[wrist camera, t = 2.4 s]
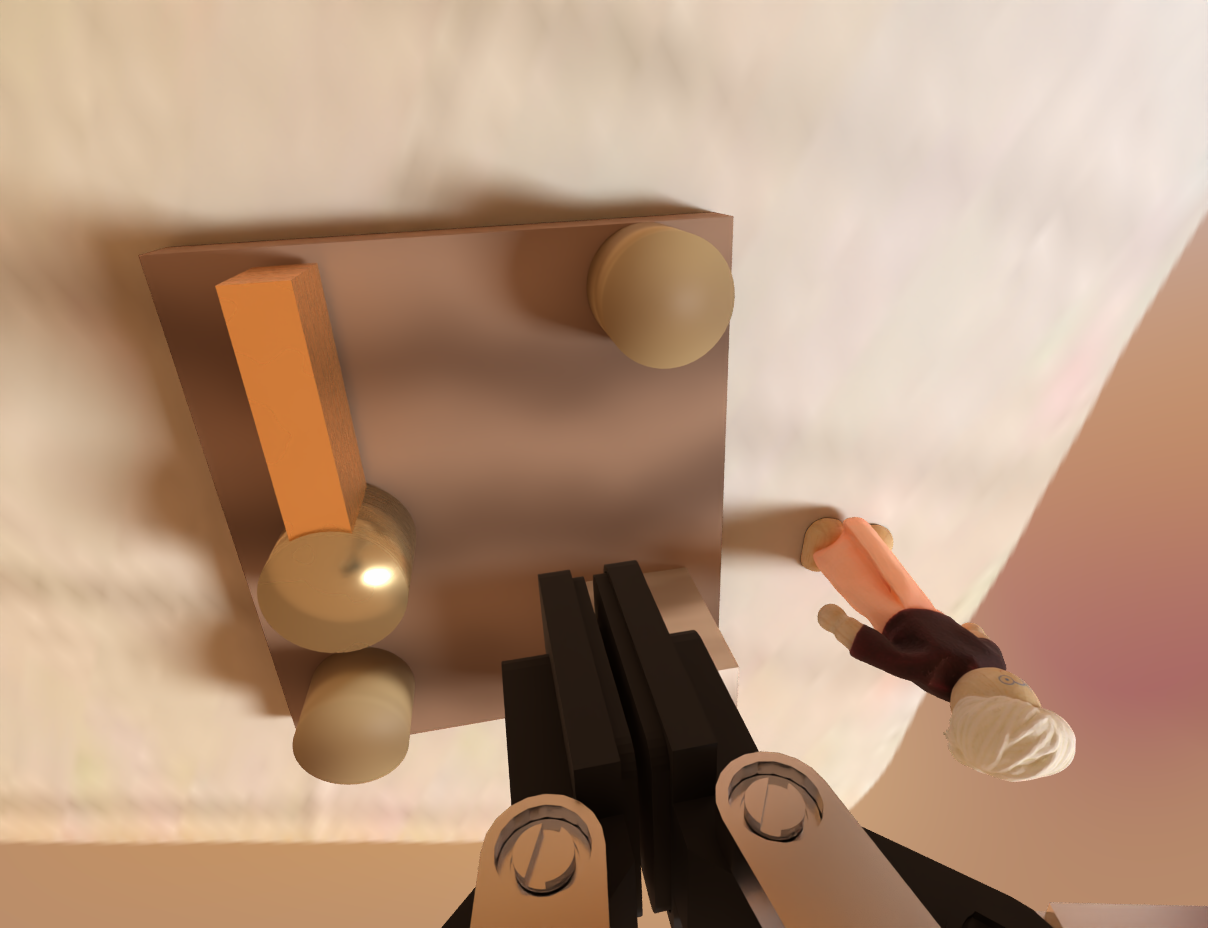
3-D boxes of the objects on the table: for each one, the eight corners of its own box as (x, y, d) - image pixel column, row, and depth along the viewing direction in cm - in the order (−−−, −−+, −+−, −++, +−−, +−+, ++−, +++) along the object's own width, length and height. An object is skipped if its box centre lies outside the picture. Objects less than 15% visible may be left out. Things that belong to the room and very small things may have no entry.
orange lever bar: (425, 579, 25) (418, 641, 22) (303, 596, 24) (277, 662, 21) (363, 258, 20) (342, 277, 17) (207, 269, 19) (155, 291, 16)
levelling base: (166, 247, 21) (-46, 307, 12) (713, 212, 23) (853, 241, 15) (313, 716, 29) (249, 946, 21) (702, 652, 32) (788, 833, 23)
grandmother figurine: (918, 506, 31) (1181, 709, 19) (896, 576, 32) (1128, 802, 21) (764, 508, 29) (952, 729, 18) (749, 581, 31) (913, 827, 19)
